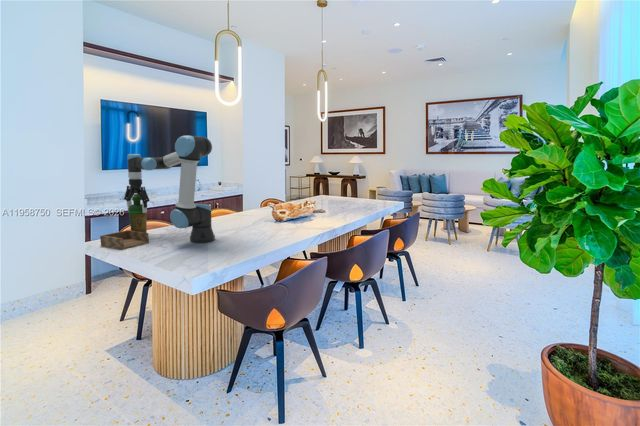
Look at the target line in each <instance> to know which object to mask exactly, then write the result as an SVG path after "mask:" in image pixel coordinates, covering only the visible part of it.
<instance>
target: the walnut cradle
mask: <svg viewBox="0 0 640 426" xmlns="http://www.w3.org/2000/svg"><path fill="white" fill-rule="evenodd" d="M99 237H100V239H99V240H100V246H101V247H103V248H104V247H105V248H109V249H110V248H111V249H115V250H121V251H123V250H126V249H130V248H134V247H138V246H142V245H146V244H149V243H150V241H149V233H148V232H147V233H144V232H137V231H131V229H130V230H127V229H126V230H123V231H117V232H111V233H108V234H102V235H100V236H99Z"/></svg>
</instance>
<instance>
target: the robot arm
mask: <svg viewBox="0 0 640 426" xmlns="http://www.w3.org/2000/svg"><path fill="white" fill-rule="evenodd" d="M174 150H175V151H174V152H171V153H168V154H166V155H163V156H161V157H142V156H141V154H140V153H129V154H127V160H126V161H127V170H128V171H127V172H128V175H127V176H128V178H129V179H128V185H126V190H125V194H124V197H123V200H124V201H126V206H127V209H128V208H129V207H130V206H131V205H133V200H132V197H133V196H134V194H138V195H139V196H140V198H141V204H142V210H143V213H148V202H150V197H149V196H148V193H147V190H146V187H145V186H142V185H143V179H142V178H143V176H142V171H143V170H145V171H154V170H170V169H171V168H172V167H173V166H174V167H175V166H177V165H180V174H179V175H180V177H179V189H178V202H176V203H175V207H174V209H173V210H172V211H171V212H170V214H169V218H170V221H171V222H170V223H171V224H172V225H173V226H174V227H176V228H177V229H186V228H190V227H192V229H191V232H190V235H189V241H190V242H192V243H210V242H213V241H215V239H216V238H215V237H216V236H215V234H214V230H213V227H212V226H213V225H212V208H211V205H210V204H206V203H195V193H196V192H195V191H196V183H197V181H196V180H197V170H198V169H197V168H198V163H199V162H201V158H204V157H206V156H209V155H210V154H211V153H212V150H213V145H212V142H211V140H210V139H209V138H207V137H205V136H198V135H191V134H190V135H182V136H179V137H178V138H177V140H176V142H174Z"/></svg>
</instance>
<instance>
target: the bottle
mask: <svg viewBox="0 0 640 426" xmlns="http://www.w3.org/2000/svg"><path fill="white" fill-rule="evenodd" d="M131 201H132V205H131V206H130V207H129V208H128V207H127V212H128V218H129V224H130V225H129V226H130V231H137V232H144V233H148V232H147V227H148V226H147V213H148V212H147V213H143V210H142V200H141V198H140V196H139V195H138V194H136V193H134V195H133V197H132V198H131Z"/></svg>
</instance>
